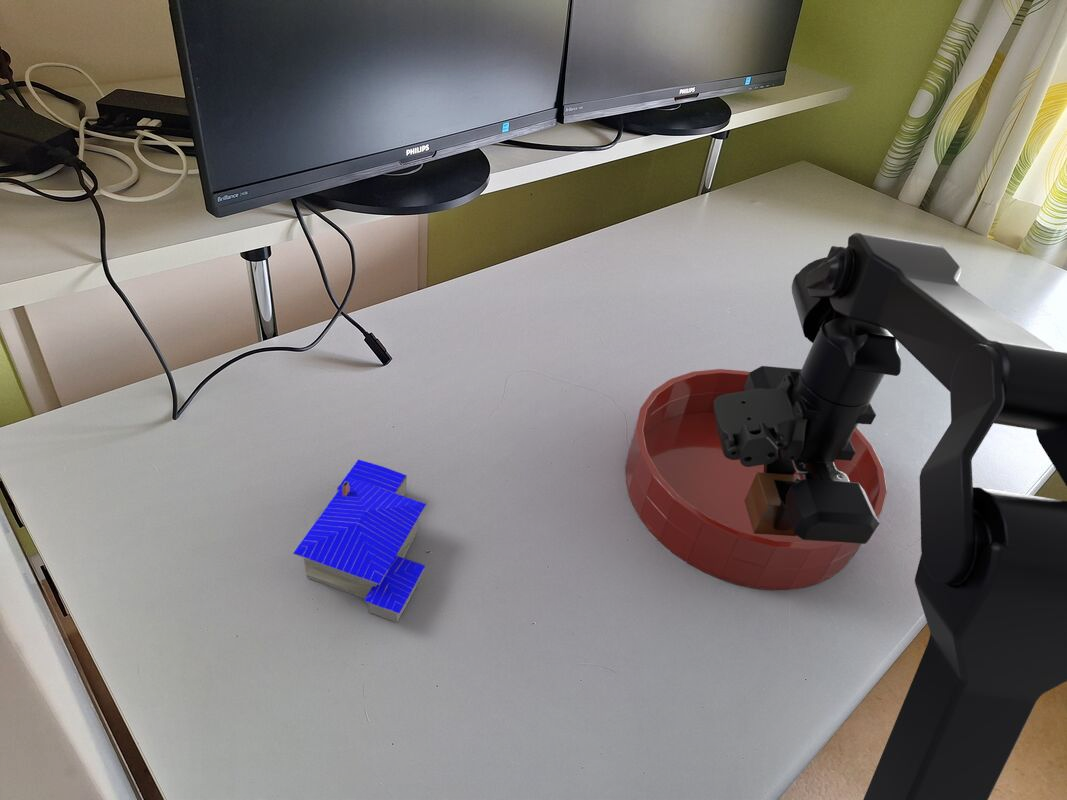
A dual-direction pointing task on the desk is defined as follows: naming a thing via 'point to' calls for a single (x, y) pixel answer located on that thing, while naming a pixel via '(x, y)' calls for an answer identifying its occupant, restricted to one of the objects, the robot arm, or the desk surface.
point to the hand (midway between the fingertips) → (773, 511)
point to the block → (766, 503)
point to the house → (367, 540)
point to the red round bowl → (724, 491)
